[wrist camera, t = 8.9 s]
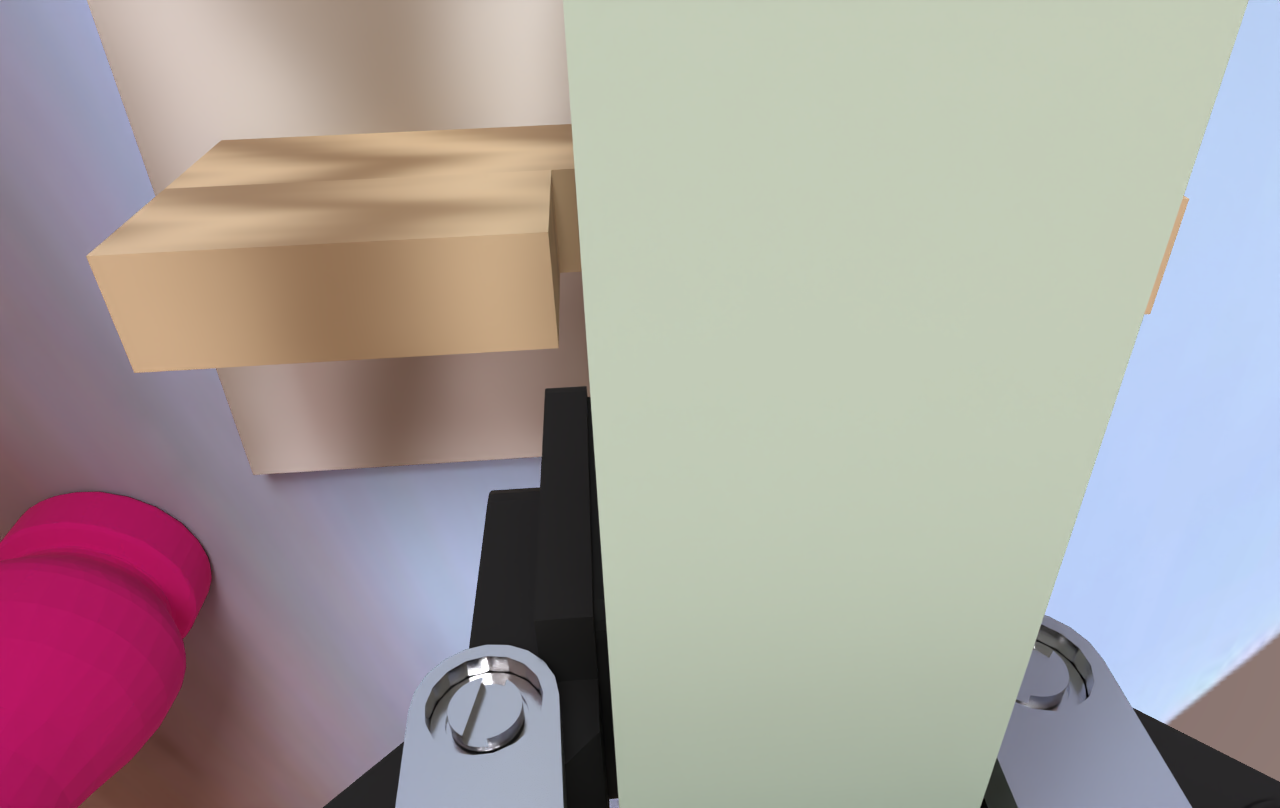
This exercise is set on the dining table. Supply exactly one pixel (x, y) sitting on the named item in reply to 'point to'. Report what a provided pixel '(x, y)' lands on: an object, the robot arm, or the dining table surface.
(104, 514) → the pepper mill
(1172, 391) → the dining table surface
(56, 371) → the dining table surface
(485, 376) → the oak plate stand
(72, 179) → the dining table surface
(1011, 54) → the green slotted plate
